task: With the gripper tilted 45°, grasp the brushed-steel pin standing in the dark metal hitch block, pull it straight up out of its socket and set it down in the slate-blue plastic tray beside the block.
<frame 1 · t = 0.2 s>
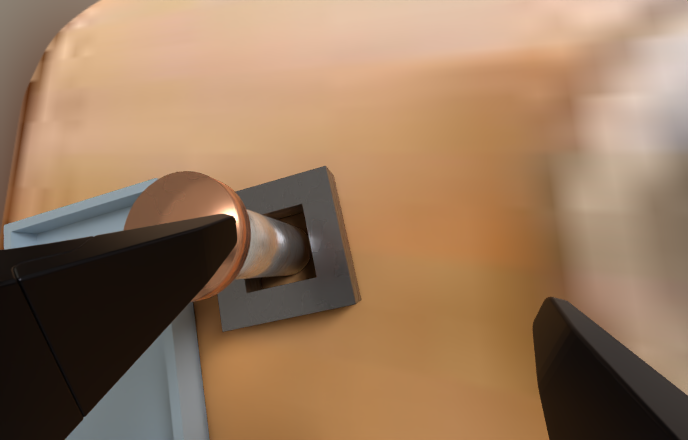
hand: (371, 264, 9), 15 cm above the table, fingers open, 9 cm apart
hitch block: (287, 249, 25), on the table
pin: (287, 249, 25), resting in hitch block
tray: (113, 327, 27), on the table
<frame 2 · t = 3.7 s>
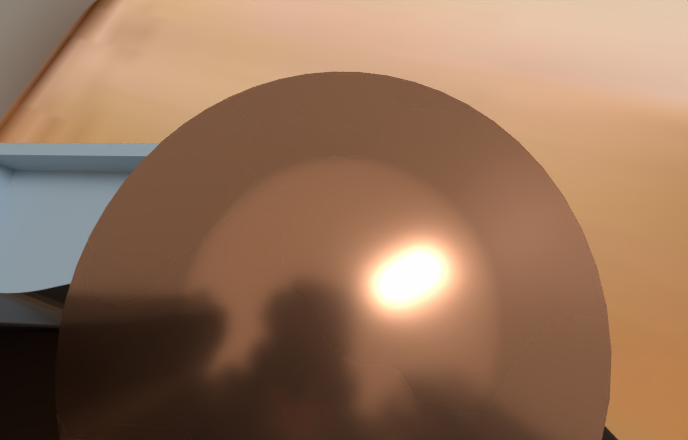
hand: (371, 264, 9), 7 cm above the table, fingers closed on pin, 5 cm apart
pin: (372, 320, 15), resting in hitch block, touching gripper
tray: (50, 347, 16), on the table
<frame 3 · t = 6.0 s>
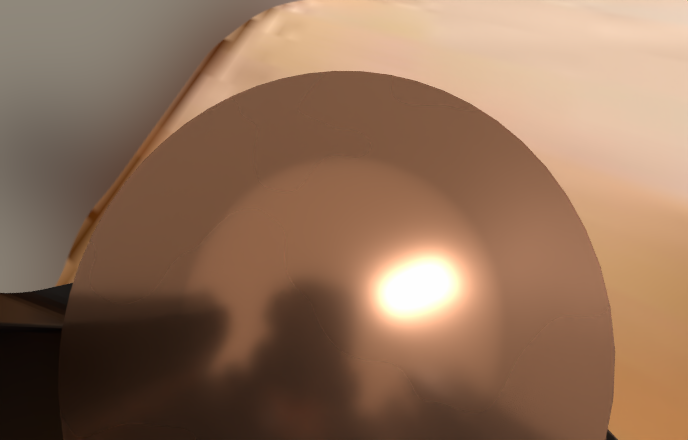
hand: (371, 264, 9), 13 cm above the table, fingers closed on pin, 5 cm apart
pin: (373, 320, 15), point 7 cm above the table, touching gripper
when the fingers open (8 cm above the table, at t = 8.5 s): pin drops 1 cm, resting on tray.
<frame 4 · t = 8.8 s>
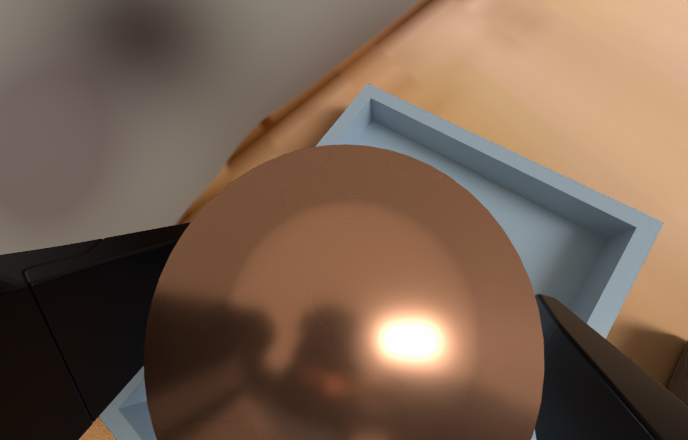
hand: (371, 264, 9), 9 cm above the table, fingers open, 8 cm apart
pin: (373, 322, 16), point 1 cm above the table, touching tray
tray: (374, 321, 16), on the table
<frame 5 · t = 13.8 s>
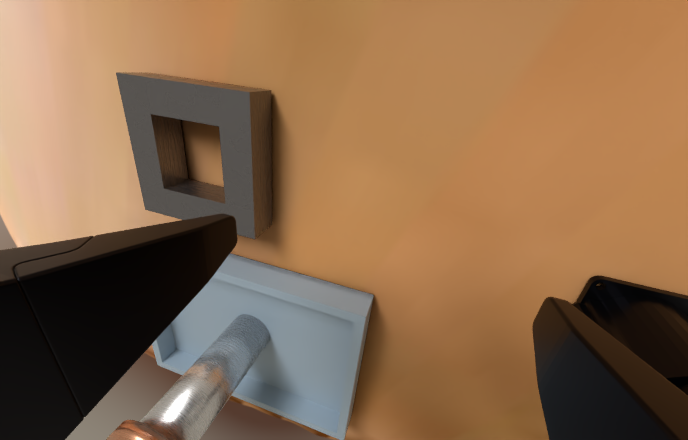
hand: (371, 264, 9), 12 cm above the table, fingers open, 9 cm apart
hitch block: (213, 152, 23), on the table
pin: (251, 331, 30), point 1 cm above the table, touching tray
tray: (254, 326, 31), on the table
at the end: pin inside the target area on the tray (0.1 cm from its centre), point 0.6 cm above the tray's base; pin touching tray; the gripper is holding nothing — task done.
